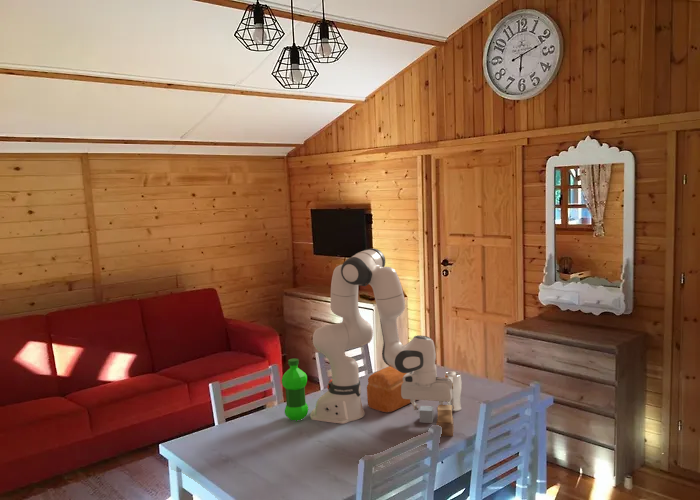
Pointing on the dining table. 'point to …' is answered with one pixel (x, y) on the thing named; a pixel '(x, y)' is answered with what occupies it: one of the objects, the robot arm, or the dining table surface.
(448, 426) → the walnut base block
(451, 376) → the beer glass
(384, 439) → the dining table surface
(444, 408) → the oak block
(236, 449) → the dining table surface
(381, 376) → the bread
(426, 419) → the slate block
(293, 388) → the plastic bottle
